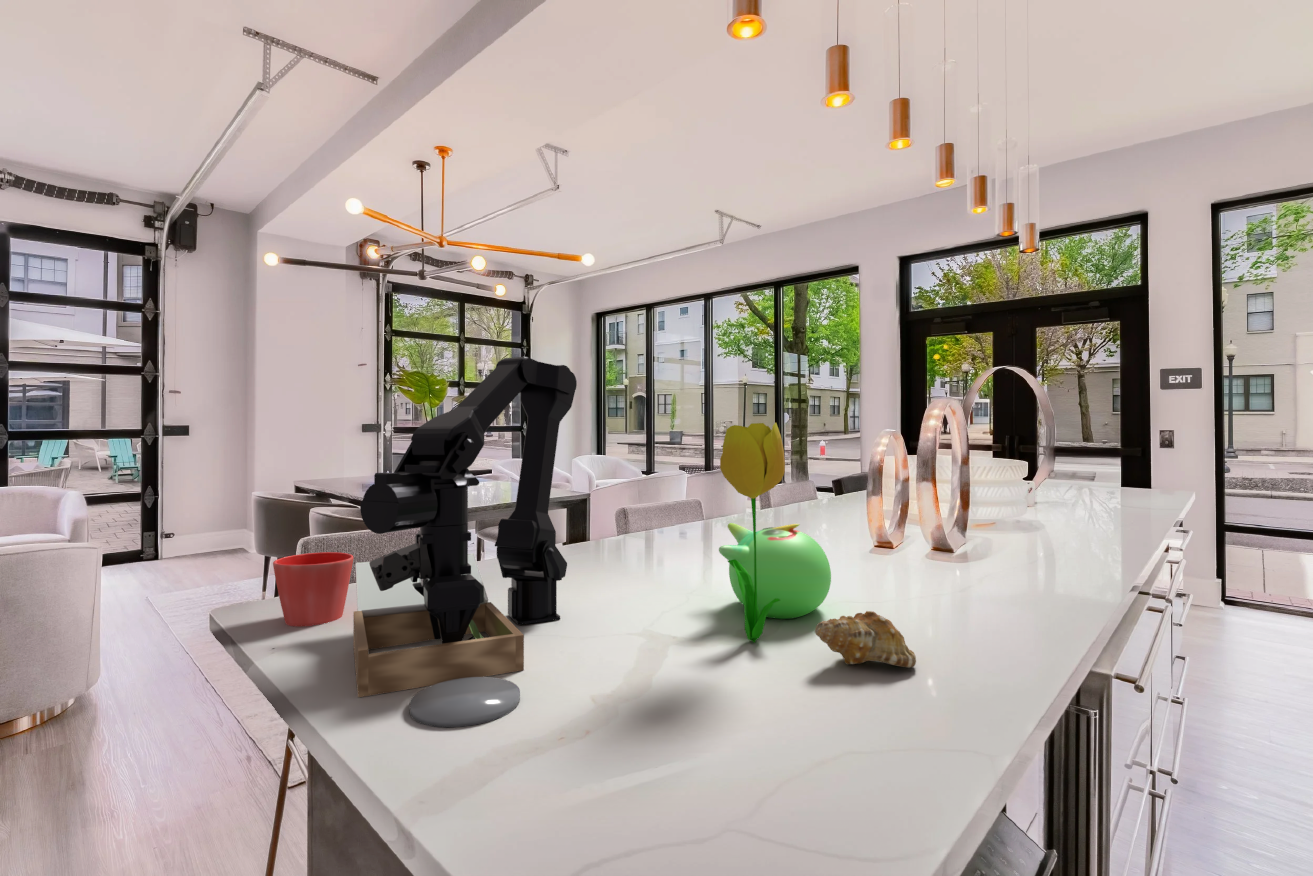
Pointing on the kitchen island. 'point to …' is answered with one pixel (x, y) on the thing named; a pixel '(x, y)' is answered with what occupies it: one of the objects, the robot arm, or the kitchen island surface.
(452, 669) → the box
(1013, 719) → the kitchen island surface
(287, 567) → the flower pot
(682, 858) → the kitchen island surface
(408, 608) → the lid
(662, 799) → the kitchen island surface
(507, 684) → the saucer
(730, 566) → the round green toy
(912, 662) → the seashell
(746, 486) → the flower
